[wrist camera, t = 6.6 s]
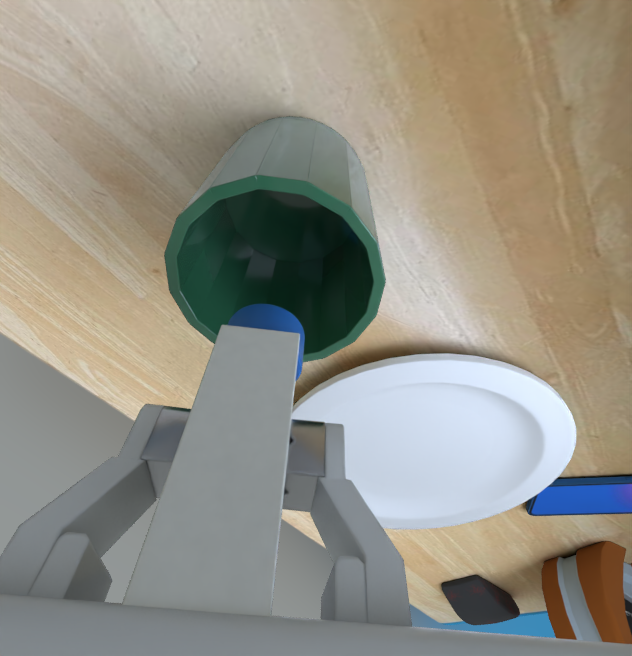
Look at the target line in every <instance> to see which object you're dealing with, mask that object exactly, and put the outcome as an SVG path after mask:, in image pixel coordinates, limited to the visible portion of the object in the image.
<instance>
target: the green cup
mask: <svg viewBox="0 0 632 656" xmlns="http://www.w3.org/2000/svg"><path fill="white" fill-rule="evenodd" d="M164 257H165V264H166V271H167V278H168V285H169V291H170V293H171V295H172V296H173V298H174V300H175V301H176V303H177V305H178V306H179V308H180V310H181V311H182V313H183V314H184V316H185V318H186V319H187V321H188V322H189V323H190V325H192V326H193V327H194V328H195V329H197V330H198V331H199V332H200V333H201V334H203V335H204V336H205V337H206V338H208V339H209V340H210V341H211V342H213V343H214V344H215V342H216V339H217V336H218V334H219V331H220V328H221V325H228V322H229V320H230V319H231V317H232V316H233V315H234V314H235V313H236V312H237V311H238V310H240V309H242V308H244V307H246V306H249V305H254V304H270V305H275V306H278V307H281V308H283V309H285V310H287V311H289V312H290V313H292V314H293V315H294V316H295V317H296V318H297V319H298V320H299V322H300V323H301V325H302V327H303V330H304V334H305V341H304V352H303V362H307V361H313V360H318V359H323V358H326V357H327V356H329V355H331V354H333V353H335V352H337V351H339V350H340V349H342V348H344V347H346V346H348V345H350V344H351V343H353V342H355V341H356V339H357V338H358V337H359V336H360V335H361V333H362V332H363V331H364V330H365V329H366V328H367V326H368V325H369V324H370V323H371V322H372V320H373V319H374V318H375V317H376V315H377V312H378V308H379V305H380V301H381V297H382V294H383V290H384V286H385V283H386V282H385V280H386V279H385V273H384V268H383V263H382V258H381V253H380V247H379V242H378V237H377V232H376V226H375V221H374V216H373V211H372V206H371V200H370V195H369V190H368V185H367V180H366V175H365V170H364V167H363V165H362V164H361V161H360V159H359V157H358V156H357V154H356V152H355V151H354V149H353V148H352V147H351V146H350V144H349V143H348V142H347V141H346V140H345V139H344V138H343V137H342V136H341V135H340V134H339V133H337V132H336V131H334V130H333V129H332V128H330V127H328V126H326V125H324V124H323V123H320V122H317V121H315V120H312V119H308V118H303V117H293V116H287V117H278V118H273V119H269V120H267V121H264V122H261V123H259V124H257V125H256V126H254V127H252V128H250V129H249V130H248V131H247V132H245V133H244V134H243V135H242V136H241V137H240V138H239V139H238V140H237V141H236V142H235V143H234V144H233V145H232V146H231V147H230V148H229V149H228V150H227V152H226V153H225V154H224V156H223V157H222V158H221V160H220V161H219V162H218V164H217V165H216V166H215V168H214V169H213V170H212V172H211V173H210V174H209V176H208V177H207V178H206V180H205V181H204V182H203V184H202V185H201V186H200V188H199V189H198V190H197V192H196V193H195V194H194V196H193V197H192V198H191V200H190V201H189V202H188V204H187V205H186V206H185V208H184V209H183V210H182V212H181V213H180V214H179V215H178V217H177V219H176V221H175V224H174V227H173V230H172V233H171V236H170V239H169V241H168V244H167V247H166V250H165V255H164Z"/></svg>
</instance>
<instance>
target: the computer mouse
mask: <svg viewBox="0 0 632 656" xmlns="http://www.w3.org/2000/svg"><path fill="white" fill-rule="evenodd" d="M441 587H442V590H443V592H444V594H445V596H446V598H447V599H448V601H449V603H450V604H451V606H452V608H453V609H454V611H455V612H456V614H457V615H458V616H459V617H460V618H461V619H462V620H463V621H464V622H466V623H468V624H471V625H483V624H493V623H498V622H503V621H506V620H510V619H513V618H516V617H518V616H519V615H520V611H519V608H518V606H517V605H516V603H515V601H514V600H513V598H512V597H511V596H510V595H509V594H507V593H506V592H504V591H502V590H501V589H499V588H497V587H496V586H494V585H492V584H491V583H489V582H488V581H486V580H484V579H483V578H481V577H479V576H471V577H467V578H463V579H459V580H455V581H451V582H446V583H443V584H442V585H441Z"/></svg>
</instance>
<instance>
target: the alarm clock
mask: <svg viewBox="0 0 632 656" xmlns="http://www.w3.org/2000/svg"><path fill="white" fill-rule="evenodd" d="M625 551H626V549H625V548H623V547H621V546H619V545H616V544H614V543H612V542H609V541H604V542H600V543H597V544H594V545H591V546H588V547H585V548H582V549H579V550H577V553H576V555H574V556H571V557H568V558H565V559H564V558H561V557H556V558H553V559H550V560H548V561H546V562H544V565H543V568H542V589H543V594H544V598H545V603H546V607H547V611H548V616H549V620H550V622H551V625H552V628H553V630H554V633H555V636H556V638H560V639H573V640H585V641H598V642H610V643H623V644H632V564H630V565H629V564H627V563H624V557H625Z"/></svg>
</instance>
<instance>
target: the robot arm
mask: <svg viewBox="0 0 632 656" xmlns="http://www.w3.org/2000/svg"><path fill="white" fill-rule="evenodd" d="M190 412H191V409H186V408H178V407H170V406H163V405H153V404H145V405H144V406H143V407H142V409H141V410H140V412H139V414H138V416H137V418H136V420H135V422H134V425H133V427H132V429H131V431H130V433H129V435H128V437H127V439H126V441H125V443H124V445H123V447H122V449H121V451H120V453H119V455H118V457H111V458H110V459H108V460H107V461H105V462H104V463H103V464H101V465H100V466H99V467H97V468H96V469H95V470H93V471H92V472H91V473H89V474H88V475H87V476H85V477H84V478H83V479H81V480H80V481H79V482H77V483H76V484H75V485H73V486H72V487H70V488H69V489H68V490H66V491H65V492H64V493H62V494H61V495H60V496H58V497H57V498H56V499H55V500H53V501H52V502H50V503H49V504H48V505H46V506H45V507H44V508H42V509H41V510H40V511H38V512H37V513H36V514H34V515H33V516H31V517H30V518H29V519H28V520H26V521H25V522H24V523H22V524H21V525H20V526H19V527H18V529H17V530H16V532H15V533H14V535H13V537H12V538H11V540H10V542H9V543H8V545H7V546H6V548H5V550H4V551H3V553H2V555H1V556H0V656H632V644H623V643H610V642H598V641H585V640H573V639H560V638H547V637H534V636H522V635H509V634H497V633H485V632H471V631H458V630H447V629H434V628H421V627H412V622H411V614H410V606H409V599H408V591H407V583H406V575H405V567H404V560H403V558H402V557H401V555H400V554H399V552H398V551H397V549H396V548H395V546H394V545H393V543H392V542H391V540H390V539H389V537H388V535H387V534H386V532H385V531H384V529H383V528H382V526H381V525H380V523H379V522H378V520H377V519H376V517H375V516H374V514H373V513H372V511H371V509H370V508H369V506H368V505H367V503H366V502H365V500H364V499H363V497H362V496H361V494H360V493H359V491H358V490H357V488H356V487H355V485H354V483H353V482H352V480H348V479H346V468H345V432H344V426H343V424H336V423H325V422H320V421H308V420H297V419H291V429H290V438H289V448H288V458H287V467H286V477H285V486H284V496H283V506H282V509H288V510H296V511H305V512H311V513H310V514H311V517H312V519H313V521H314V523H315V525H316V527H317V529H318V531H319V534H320V536H321V538H322V540H323V542H324V544H325V546H326V549H327V551H328V553H329V555H330V557H331V559H332V561H333V563H334V566H333V568H332V571H331V574H330V576H329V579H328V582H327V584H326V587H325V589H324V592H323V594H322V597H321V619H309V618H295V617H284V616H283V617H282V616H256V615H243V614H230V613H218V612H206V611H193V610H181V609H169V608H156V607H144V606H131V605H122V604H121V603H108V602H104V601H105V599H106V596H107V593H108V590H109V588H110V585H111V583H112V579H111V576H110V574H109V572H108V570H107V569H106V567H105V565H104V564H103V562H102V560H101V559H100V558H101V557H102V556H103V555H104V554H105V553H106V552H107V551H108V550H109V549H110V548H111V547H112V545H113V544H114V543H115V542H116V541H117V540H118V539H119V538H120V537H121V536H122V535H123V534H124V533H125V532H126V531H127V530H128V529H129V528H130V527H131V526H132V525H133V524H134V523H135V522H136V521H137V520H138V519H139V518H140V517H141V516H142V514H143V513H144V512H145V511H146V510H147V509H148V508H149V507H150V506H151V505H152V504H153V503H154V502H155V501H156V498H160V496H161V493H162V490H163V487H164V485H165V482H166V479H167V476H168V473H169V471H170V468H171V465H172V462H173V459H174V457H175V454H176V451H177V448H178V445H179V443H180V440H181V437H182V434H183V431H184V429H185V426H186V423H187V420H188V417H189V415H190Z"/></svg>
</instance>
